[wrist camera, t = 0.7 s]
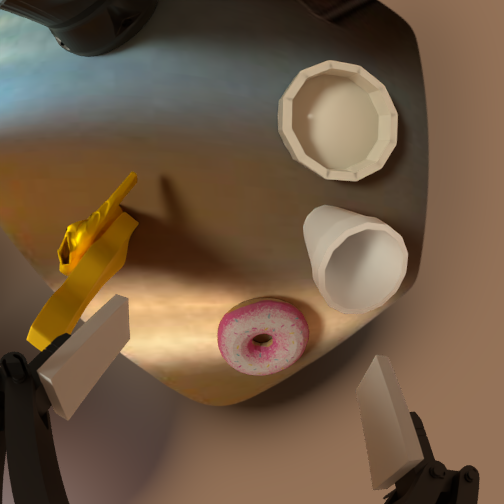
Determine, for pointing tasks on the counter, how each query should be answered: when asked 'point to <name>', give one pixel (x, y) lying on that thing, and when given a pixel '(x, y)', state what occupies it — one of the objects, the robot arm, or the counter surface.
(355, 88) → the dish
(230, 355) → the donut
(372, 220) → the foam cup
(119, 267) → the figure statuette
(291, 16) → the counter surface
